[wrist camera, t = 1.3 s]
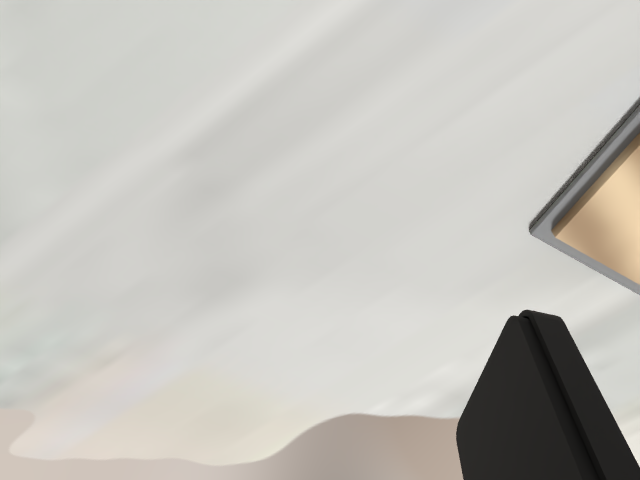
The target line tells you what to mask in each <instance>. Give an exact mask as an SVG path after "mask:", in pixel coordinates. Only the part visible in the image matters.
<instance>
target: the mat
mask: <svg viewBox="0 0 640 480" xmlns="http://www.w3.org/2000/svg"><path fill="white" fill-rule="evenodd" d="M639 133H640V105H639V106H638V107H637V108H636V110H635V111H634V112H633V113H632V114H631V115H630V116H629V117H628V119H627V120H626V121H625V122H624V123H623V124H622V125H621V127H620V128H619V129H618V130H617V131H616V132H615V133H614V135H613V136H612V137H611V138H610V139H609V140H608V141H607V143H606V144H605V145H604V146H603V147H602V148H601V149H600V150H599V152H598V153H597V154H596V155H595V156H594V157H593V158H592V160H591V161H590V162H589V163H588V164H587V165H586V166H585V168H584V169H583V170H582V171H581V172H580V173H579V174H578V176H577V177H576V178H575V179H574V180H573V181H572V182H571V183H570V185H569V186H568V187H567V188H566V189H565V190H564V191H563V193H562V194H561V195H560V196H559V197H558V198H557V199H556V201H555V202H554V203H553V204H552V205H551V206H550V207H549V209H548V210H547V211H546V212H545V213H544V214H543V215H542V217H541V218H540V219H539V220H538V221H537V222H536V223H535V224H534V226H533V227H532V228H531V229H530V230H529V232H530V234H531V235H532V236H534V237H536V238H538V239H540V240H541V241H543V242H545V243H547V244H549V245H550V246H552V247H554V248H556V249H558V250H559V251H561V252H563V253H565V254H567V255H568V256H570V257H572V258H574V259H576V260H577V261H579V262H581V263H583V264H585V265H586V266H588V267H590V268H592V269H594V270H595V271H597V272H599V273H601V274H603V275H604V276H606V277H608V278H610V279H612V280H613V281H615V282H617V283H619V284H621V285H622V286H624V287H626V288H628V289H630V290H631V291H633V292H635V293H637V294H639V295H640V285H639V284H637V283H636V282H634V281H632V280H630V279H629V278H627V277H625V276H623V275H621V274H620V273H618V272H616V271H614V270H612V269H611V268H609V267H607V266H605V265H604V264H602V263H600V262H598V261H596V260H595V259H593V258H591V257H589V256H587V255H586V254H584V253H582V252H580V251H579V250H577V249H575V248H573V247H571V246H570V245H568V244H566V243H564V242H562V241H561V240H559V239H557V238H555V236H554V235H553V233H552V232H551V230H552V229H553V228H554V227H555V226H556V225H557V223H558V222H559V221H560V220H561V219H562V218H563V217H564V216H565V215H566V213H567V212H568V211H569V210H570V209H571V208H572V207H573V206H574V205H575V204H576V202H577V201H578V200H579V199H580V198H581V197H582V196H583V195H584V194H585V192H586V191H587V190H588V189H589V188H590V187H591V186H592V185H593V184H594V183H595V181H596V180H597V179H598V178H599V177H600V176H601V175H602V174H603V173H604V171H605V170H606V169H607V168H608V167H609V166H610V165H611V164H612V163H613V162H614V160H615V159H616V158H617V157H618V156H619V155H620V154H621V153H622V152H623V150H624V149H625V148H626V147H627V146H628V145H629V144H630V143H631V142H632V140H633V139H634V138H635V137H636V136H637V135H638V134H639Z"/></svg>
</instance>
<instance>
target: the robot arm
mask: <svg viewBox="0 0 640 480" xmlns="http://www.w3.org/2000/svg"><path fill="white" fill-rule="evenodd" d="M456 435H457V436H456V440H457V446H458V452H459V457H460V463H461V468H462V473H463V479H464V480H640V467H639V465H638V463H637V461H636V459H635V457H634V456H633V454H632V452H631V450H630V448H629V446H628V444H627V442H626V440H625V438H624V436H623V434H622V433H621V431H620V429H619V427H618V425H617V423H616V421H615V419H614V417H613V415H612V413H611V411H610V409H609V408H608V406H607V404H606V402H605V400H604V398H603V396H602V394H601V392H600V390H599V388H598V386H597V384H596V383H595V381H594V379H593V377H592V375H591V373H590V371H589V369H588V367H587V365H586V363H585V361H584V359H583V358H582V356H581V354H580V352H579V350H578V348H577V346H576V344H575V342H574V340H573V338H572V336H571V334H570V333H569V331H568V329H567V327H566V325H565V323H564V321H563V320H562V319H561V317H558V316H555V315H550V314H545V313H541V312H536V311H531V310H524V311H522V312H521V313H520V314H519V316H511V317H510V318H509V319H508V320H507V322H506V324H505V326H504V328H503V330H502V332H501V334H500V337H499V339H498V341H497V343H496V345H495V347H494V349H493V351H492V353H491V355H490V357H489V359H488V361H487V364H486V366H485V368H484V370H483V372H482V374H481V376H480V378H479V380H478V382H477V384H476V386H475V388H474V390H473V393H472V395H471V397H470V399H469V401H468V403H467V405H466V407H465V409H464V411H463V413H462V415H461V417H460V420H459V422H458V426H457V432H456Z"/></svg>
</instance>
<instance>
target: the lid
mask: <svg viewBox="0 0 640 480" xmlns="http://www.w3.org/2000/svg"><path fill="white" fill-rule="evenodd" d="M551 232H552V233H553V235H554V236H555V238H557V239H559V240H561V241H562V242H564V243H566V244H568V245H570V246H571V247H573V248H575V249H577V250H579V251H580V252H582V253H584V254H586V255H587V256H589V257H591V258H593V259H595V260H596V261H598V262H600V263H602V264H604V265H605V266H607V267H609V268H611V269H612V270H614V271H616V272H618V273H620V274H621V275H623V276H625V277H627V278H629V279H630V280H632V281H634V282H636V283H637V284H639V285H640V133H639V134H638V135H637V136H636V137H635V138H634V139H633V140H632V142H631V143H630V144H629V145H628V146H627V147H626V148H625V149H624V150H623V152H622V153H621V154H620V155H619V156H618V157H617V158H616V159H615V160H614V162H613V163H612V164H611V165H610V166H609V167H608V168H607V169H606V170H605V171H604V173H603V174H602V175H601V176H600V177H599V178H598V179H597V180H596V181H595V183H594V184H593V185H592V186H591V187H590V188H589V189H588V190H587V191H586V192H585V194H584V195H583V196H582V197H581V198H580V199H579V200H578V201H577V202H576V204H575V205H574V206H573V207H572V208H571V209H570V210H569V211H568V212H567V213H566V215H565V216H564V217H563V218H562V219H561V220H560V221H559V222H558V223H557V225H556V226H555V227H554V228H553V229H552V230H551Z"/></svg>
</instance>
